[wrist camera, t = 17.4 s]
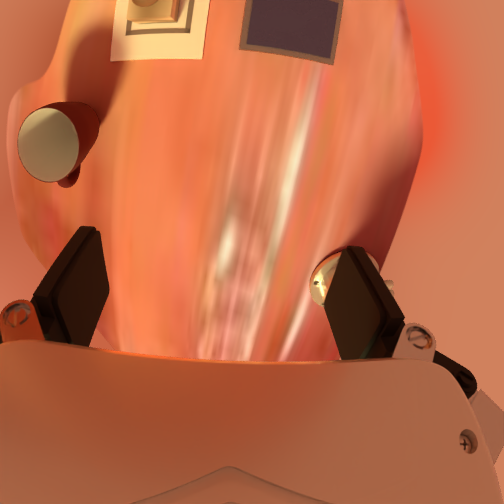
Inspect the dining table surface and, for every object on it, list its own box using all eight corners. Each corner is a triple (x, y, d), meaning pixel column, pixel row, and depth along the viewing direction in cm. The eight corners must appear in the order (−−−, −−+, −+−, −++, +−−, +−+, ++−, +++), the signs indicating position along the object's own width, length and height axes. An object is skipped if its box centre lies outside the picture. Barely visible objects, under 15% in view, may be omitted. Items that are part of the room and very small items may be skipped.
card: (217, -43, 21) (217, -44, 20) (202, 59, 29) (201, 59, 28) (124, -38, 19) (123, -39, 19) (111, 61, 27) (109, 61, 27)
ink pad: (340, 1, 25) (345, 0, 24) (330, 64, 30) (334, 65, 29) (248, -17, 23) (249, -20, 22) (238, 49, 28) (239, 49, 27)
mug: (117, 167, 35) (90, 201, 27) (66, 172, 34) (30, 207, 26) (110, 87, 29) (75, 99, 21) (55, 99, 28) (11, 116, 20)
